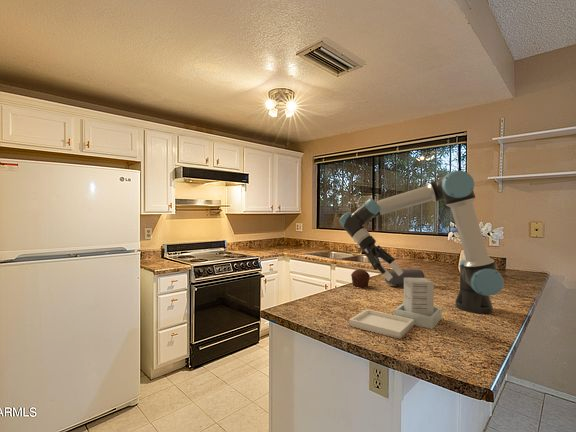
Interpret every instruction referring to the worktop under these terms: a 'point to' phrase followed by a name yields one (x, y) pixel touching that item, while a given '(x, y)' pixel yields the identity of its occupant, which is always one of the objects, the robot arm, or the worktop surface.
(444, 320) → the worktop surface
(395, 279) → the bluetooth speaker
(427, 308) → the supplement box
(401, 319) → the tray
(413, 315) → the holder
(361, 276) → the muffin
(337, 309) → the worktop surface
